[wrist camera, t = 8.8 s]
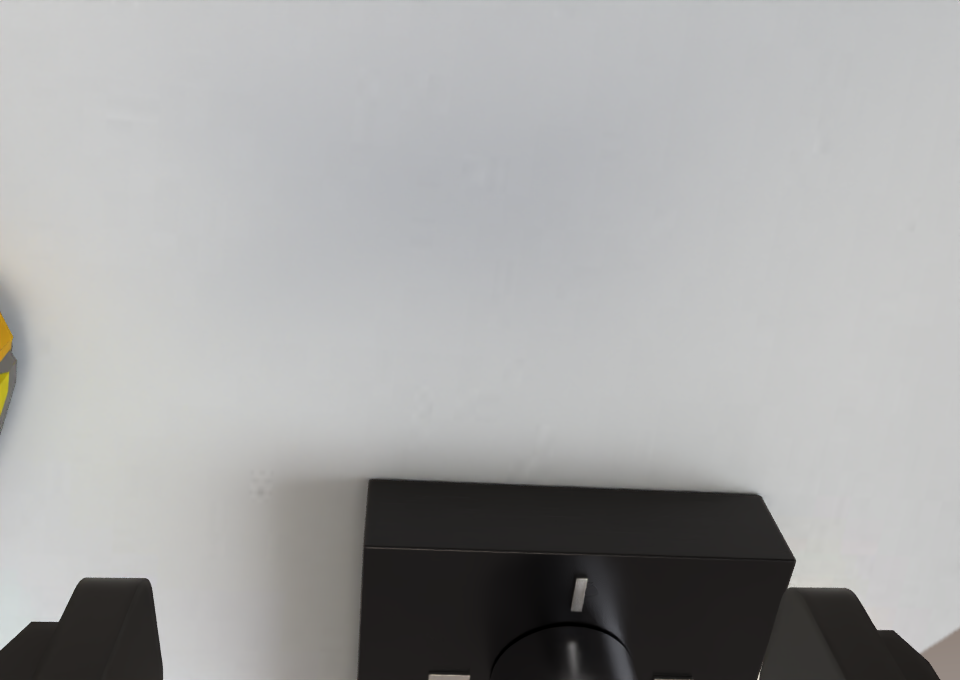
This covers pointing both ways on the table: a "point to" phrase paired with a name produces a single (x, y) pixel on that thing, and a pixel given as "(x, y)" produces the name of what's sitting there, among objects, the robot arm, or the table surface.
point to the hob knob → (565, 657)
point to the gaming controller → (6, 369)
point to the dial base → (566, 577)
